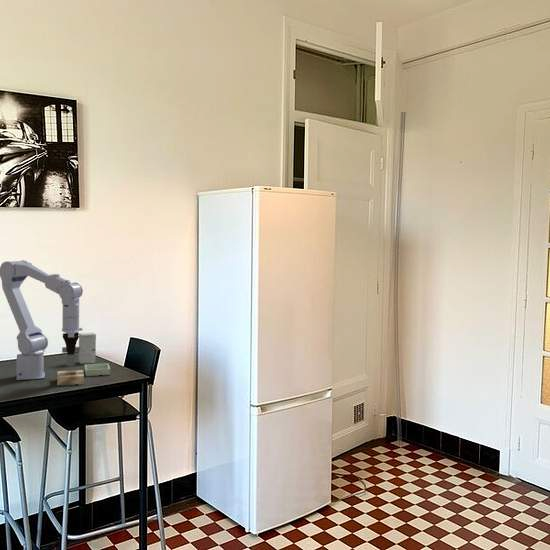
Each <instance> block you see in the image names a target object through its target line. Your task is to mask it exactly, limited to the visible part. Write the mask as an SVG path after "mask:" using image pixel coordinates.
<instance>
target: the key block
mask: <svg viewBox="0 0 550 550" xmlns="http://www.w3.org/2000/svg"><path fill="white" fill-rule="evenodd" d="M56 374H57V375H56V376H57V377H56V379H57V380H56V381H57V385H56V386H57V387H58V385H61V386H75V384H78V385H84V384H85V375H84V374H85V372H84V370H83V369H81V370H80V369H79V370H78V369H77V370H61V371H60V370H59V371H57V373H56Z"/></svg>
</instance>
